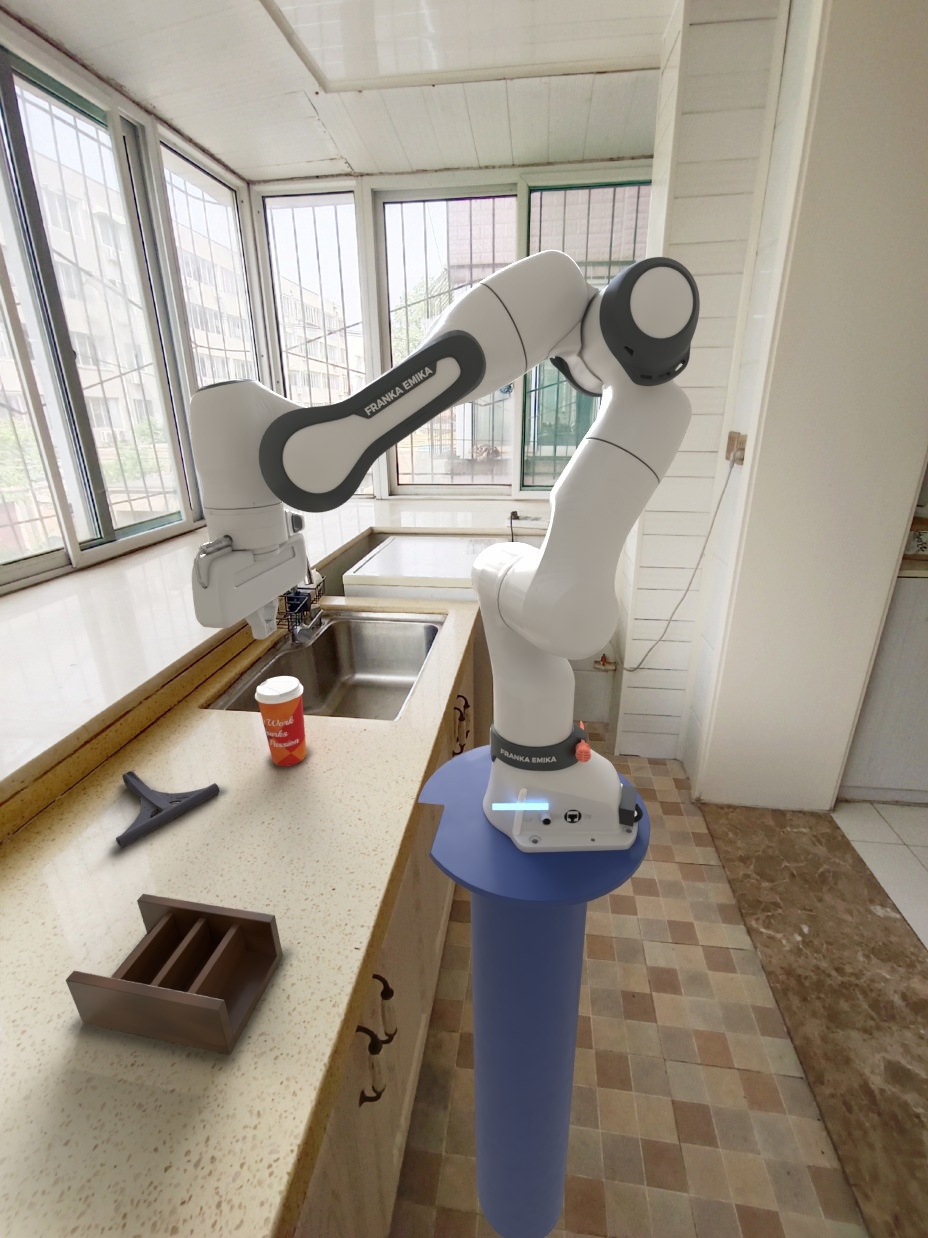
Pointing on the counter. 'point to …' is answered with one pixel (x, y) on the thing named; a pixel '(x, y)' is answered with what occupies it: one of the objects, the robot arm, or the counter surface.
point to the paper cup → (283, 718)
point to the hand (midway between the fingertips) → (265, 635)
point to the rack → (185, 975)
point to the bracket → (158, 806)
